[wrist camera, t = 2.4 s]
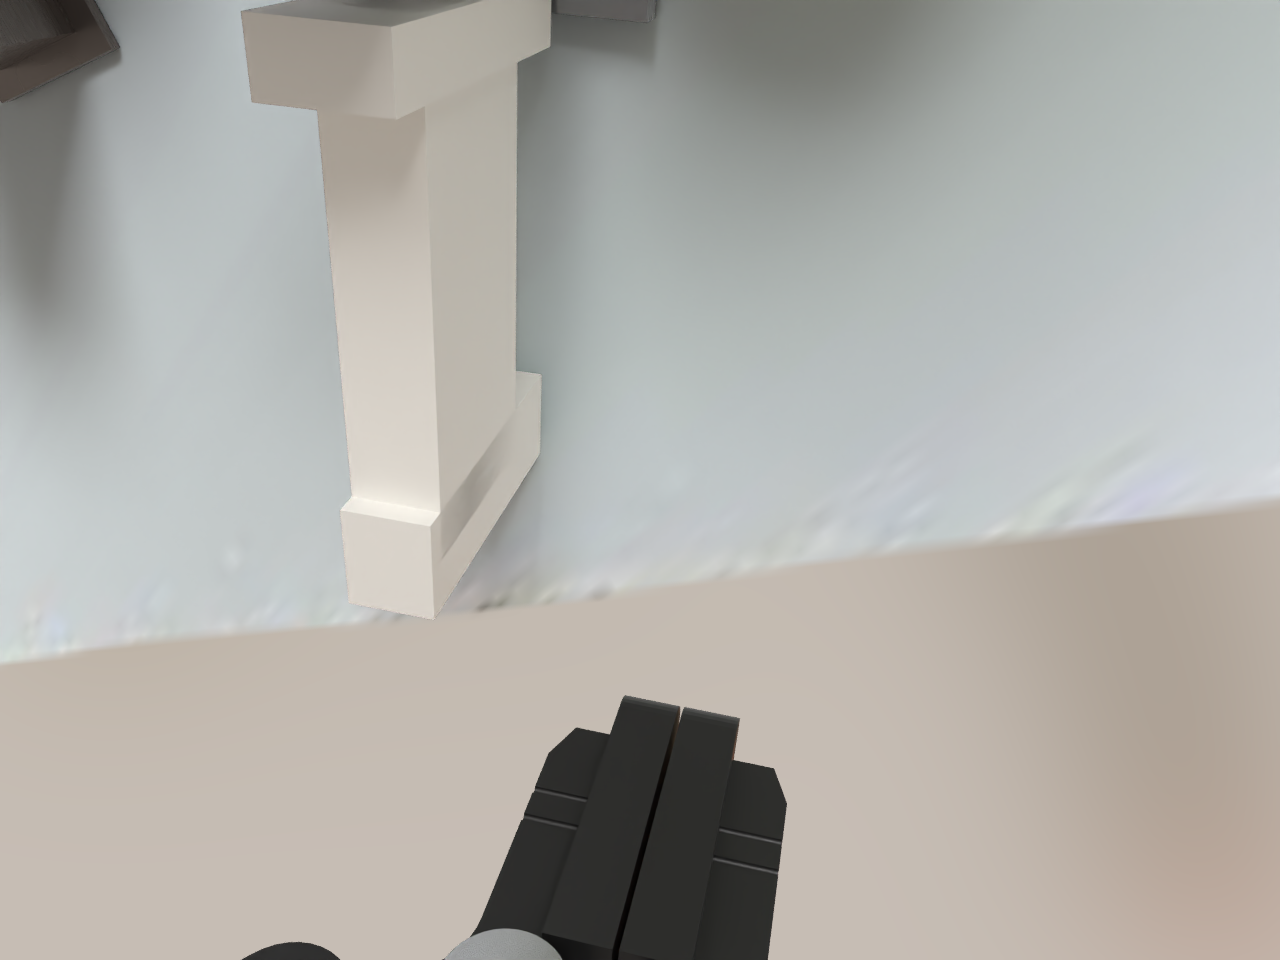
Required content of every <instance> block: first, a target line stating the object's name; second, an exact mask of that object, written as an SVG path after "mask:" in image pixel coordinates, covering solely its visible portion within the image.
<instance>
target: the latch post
mask: <svg viewBox="0 0 1280 960" xmlns="http://www.w3.org/2000/svg"><path fill="white" fill-rule="evenodd" d="M118 48H120V47H119V45H118V43H117V41H116V39H115V37H114V36H113V34H112V32H111V30H110V28H109V26H108V25H107V23H106V21H105V19H104V17H103V15H102V14H101V12H100V10H99V8H98V6H97V4H96V3H95V1H94V0H0V101H1V102H2V103H4V102H8V101H12V100H14V99H16V98H18V97H20V96H22V95H24V94H26V93H28V92H30V91H32V90H34V89H36V88H38V87H40V86H42V85H44V84H46V83H48V82H50V81H52V80H55V79H57V78H59V77H61V76H63V75H65V74H67V73H69V72H71V71H73V70H75V69H77V68H79V67H81V66H83V65H85V64H87V63H89V62H91V61H93V60H95V59H97V58H99V57H102V56H104V55H106V54H108V53H110V52H112V51H114V50H116V49H118Z"/></svg>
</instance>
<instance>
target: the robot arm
mask: <svg viewBox="0 0 1280 960" xmlns="http://www.w3.org/2000/svg"><path fill="white" fill-rule="evenodd" d="M679 718H680V707H679V706H675V705H670V704H666V703H660V702H656V701H651V700H646V699H641V698H636V697H631V696H626V695H625V696H624V697H623V699H622V701H621V704H620V707H619V710H618V713H617V716H616V719H615V722H614V725H613V727H612V730H611V733H610V735H609V734H605V733H600V732H595V731H590V730H585V729H580V728H575V729H574V730H573V731H572V732H571V733H570V734H569V735H568V736H567V737H566V738H565V739H564V740H562V741H561V742H560V743H559V744H558V745H557V746H556V747H555V748H554V749H553V750H552V751H551V752H549V754H548V756H547V759H546V761H545V764H544V766H543V768H542V771H541V773H540V776H539V778H538V781H537V783H536V786H535V791H534V793H532V795H531V798H530V800H529V803H528V805H527V808H526V810H525V813H524V818H523V820H521V822H520V825H519V828H518V830H517V832H516V835H515V837H514V840H513V842H512V845H511V847H510V849H509V852H508V854H507V857H506V859H505V862H504V864H503V867H502V869H501V871H500V874H499V876H498V879H497V881H496V884H495V886H494V889H493V891H492V894H491V896H490V899H489V901H488V904H487V906H486V908H485V911H484V913H483V916H482V918H481V920H480V922H479V924H478V926H477V928H476V930H475V931H474V932H473V934H472V935H471V936H470V938H468V939H467V940H465V941H463V942H462V943H461V944H459V945H458V946H457V947H455V948H454V949H453V950H452V951H451V952H450V954H449V955H448V956H447V957H446V958H445V959H443V960H768V953H769V945H770V937H771V929H772V920H773V911H774V904H775V896H776V888H777V879H778V871H779V864H780V855H781V848H782V847H781V845H782V839H783V831H784V823H785V815H786V807H787V803H786V800H785V797H784V794H783V792H782V789H781V786H780V783H779V781H778V778H777V775H776V773H775V770H774V768H769V767H764V766H759V765H755V764H750V763H745V762H740V761H735V760H734V753H735V747H736V740H737V734H738V727H739V721H740V718H736V717H731V716H726V715H721V714H716V713H711V712H706V711H702V710H697V709H692V708H686V707H684V709H683V712H682V715H681V719H680V722H679ZM242 960H340V959H339V958H338V957H337V956H335V955H334V954H333V953H332V952H330V951H329V950H327V949H325V948H323V947H321V946H317V945H314V944H310V943H302V942H288V943H283V944H276V945H273V946H270V947H267V948H264V949H261V950H259V951H257V952H255V953H253V954H251V955H249V956H247V957H246V958H244V959H242Z"/></svg>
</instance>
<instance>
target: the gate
mask: <svg viewBox="0 0 1280 960" xmlns="http://www.w3.org/2000/svg"><path fill="white" fill-rule="evenodd" d="M241 16H242V25H243V33H244V41H245V50H246V58H247V66H248V75H249V83H250V91H251V100H252V102H253V103H262V104H270V105H278V106H287V107H295V108H303V109H312V110H317V114H318V125H319V136H320V147H321V158H322V170H323V181H324V192H325V203H326V214H327V225H328V237H329V248H330V259H331V270H332V281H333V292H334V304H335V315H336V326H337V337H338V348H339V359H340V370H341V382H342V393H343V404H344V415H345V426H346V437H347V449H348V460H349V471H350V482H351V493H352V497H351V498H350V499H349V500H348V502H347V503H346V504H345V505H344V506H343V507H342V508H341V509H340V517H341V527H342V537H343V548H344V558H345V568H346V578H347V589H348V599H349V603H350V604H355V605H360V606H365V607H370V608H375V609H381V610H386V611H391V612H396V613H401V614H406V615H411V616H416V617H421V618H426V619H431V620H435V618H436V617H437V615H438V614H439V612H440V611H441V609H442V607H443V606H444V604H445V603H446V601H447V600H448V598H449V596H450V595H451V593H452V592H453V590H454V589H455V587H456V585H457V584H458V582H459V581H460V579H461V577H462V576H463V574H464V573H465V571H466V570H467V568H468V566H469V565H470V563H471V562H472V560H473V559H474V557H475V555H476V554H477V552H478V551H479V549H480V548H481V546H482V544H483V543H484V541H485V540H486V538H487V536H488V535H489V533H490V532H491V530H492V529H493V527H494V525H495V524H496V522H497V521H498V519H499V518H500V516H501V514H502V513H503V511H504V510H505V508H506V506H507V505H508V503H509V502H510V500H511V499H512V497H513V495H514V494H515V492H516V491H517V489H518V488H519V486H520V484H521V483H522V481H523V480H524V478H525V477H526V475H527V473H528V472H529V470H530V469H531V467H532V465H533V464H534V462H535V461H536V459H537V458H538V456H539V454H540V434H541V382H542V374H536V373H529V372H523V371H516V227H517V62H519V61H521V60H524V59H526V58H528V57H530V56H532V55H534V54H536V53H538V52H541V51H543V50H545V49H547V48H549V47H550V41H551V0H295V1H290V2H284V3H279V4H274V5H269V6H264V7H259V8H254V9H249V10H244V11H241Z"/></svg>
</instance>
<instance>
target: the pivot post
mask: <svg viewBox="0 0 1280 960" xmlns="http://www.w3.org/2000/svg"><path fill="white" fill-rule="evenodd" d="M655 11H656V0H551V13H556V14H566V15H576V16H585V17H595V18H605V19H615V20H625V21H635V22H645V23H647V22H649V21H651V20H653V19H654V18H655Z"/></svg>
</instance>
